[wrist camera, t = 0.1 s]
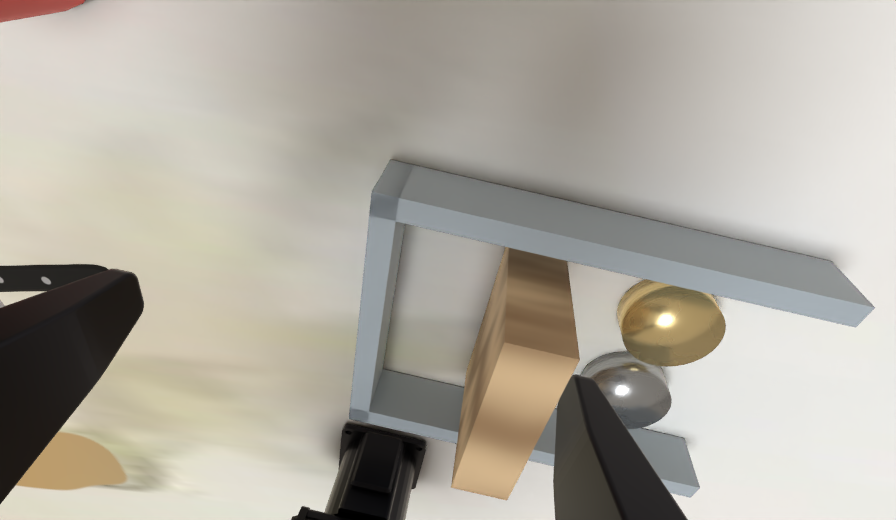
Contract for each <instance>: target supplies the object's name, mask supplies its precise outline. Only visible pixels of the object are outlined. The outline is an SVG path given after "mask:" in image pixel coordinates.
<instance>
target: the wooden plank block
mask: <svg viewBox="0 0 896 520" xmlns="http://www.w3.org/2000/svg"><path fill="white" fill-rule="evenodd" d="M579 360H580V358H579V350H578V342H577V335H576V327H575V319H574V312H573V304H572V296H571V289H570V281H569V273H568V266H567V261H565V260H561V259H556V258H552V257H548V256H543V255H539V254H535V253H530V252H526V251H522V250H517V249H513V248H509V247H506V248H505V251H504V254H503V257H502V260H501V264H500V267H499V270H498V273H497V276H496V280H495V283H494V286H493V289H492V292H491V295H490V299H489V302H488V305H487V308H486V311H485V314H484V318H483V321H482V324H481V327H480V330H479V333H478V337H477V340H476V343H475V346H474V349H473V353H472V356H471V359H470V362H469V365H468V368H467V372H466V378H465V386H464V394H463V401H462V409H461V416H460V424H459V432H458V439H457V447H456V454H455V462H454V470H453V477H452V485H451V488H456V489H460V490H464V491H469V492H473V493H477V494H482V495H486V496H490V497H495V498H499V499H503V500H507V499H508V497H509V496H510V494H511V492H512V490H513V488H514V486H515V484H516V482H517V480H518V478H519V476H520V474H521V472H522V470H523V469H524V467H525V465H526V463H527V461H528V459H529V457H530V455H531V453H532V451H533V449H534V447H535V445H536V443H537V441H538V440H539V438H540V436H541V434H542V432H543V430H544V428H545V426H546V424H547V422H548V420H549V418H550V416H551V414H552V413H553V411H554V409H555V407H556V405H557V403H558V401H559V399H560V397H561V395H562V393H563V391H564V389H565V387H566V385H567V383H568V381H569V379H570V378H571V376H572V374H573V372H574V370H575V368H576V366H577V364H578V362H579Z"/></svg>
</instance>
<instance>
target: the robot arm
mask: <svg viewBox="0 0 896 520" xmlns="http://www.w3.org/2000/svg"><path fill="white" fill-rule="evenodd" d="M143 308H144V301H143V297H142V293H141V289H140V285H139V282H138V278H137V276H136V275H135V274H134V273H132V272H128V271H124V270H119V269H109V270H106V271H103V272H101V273H98V274H95V275H92V276H89V277H86V278H84V279H81V280H78V281H75V282H72V283H69V284H67V285H64V286H61V287H58V288H55V289H52V290H50V291H47V292H44V293H41V294H38V295H35V296H33V297H30V298H27V299H24V300H21V301H18V302H16V303H13V304H10V305H7V306H4V307H2V308H0V504H1V503H2V501H3V500H4V499H5V498H6V496H7V495H8V494H9V493H10V491H11V490H12V489H13V488H14V486H15V485H16V484H17V483H18V481H19V480H20V479H21V478H22V476H23V475H24V474H25V472H26V471H27V470H28V468H29V467H30V466H31V465H32V464H33V462H34V461H35V460H36V459H37V457H38V456H39V455H40V453H41V452H42V451H43V450H44V449H45V447H46V446H47V445H48V443H49V442H50V441H51V440H52V438H53V437H54V436H55V435H56V433H57V432H58V431H59V430H60V428H61V427H62V426H63V425H64V423H65V422H66V421H67V420H68V418H69V417H70V416H71V415H72V413H73V412H74V411H75V410H76V408H77V407H78V406H79V405H80V403H81V402H82V401H83V400H84V398H85V397H86V396H87V395H88V393H89V392H90V391H91V390H92V388H93V387H94V386H95V384H96V383H97V382H98V380H99V379H100V378H101V376H102V375H103V373H104V372H105V370H106V369H107V367H108V366H109V364H110V363H111V361H112V360H113V358H114V356H115V355H116V353H117V352H118V350H119V349H120V347H121V346H122V344H123V342H124V341H125V339H126V338H127V336H128V335H129V333H130V331H131V330H132V328H133V327H134V325H135V324H136V322H137V320H138V319H139V317H140V316H141V314H142V311H143ZM426 446H427V445H426V443H425V442H424V441H421V440H417V439H413V438H408V437H404V436H399V435H395V434H391V433H386V432H382V431H378V430H373V429H369V428H365V427H360V426H356V425H352V424H346V425H344V427H343V430H342V438H341V449H340V460H339V471H338V474H337V477H336V480H335V483H334V486H333V489H332V492H331V495H330V498H329V500H328V503H327V506H326V509H325V512H324V513H323V512H319V511H315V510H310V508H308V507H304V506H302V507H301V509H300V512H299V514H298V515H297V516H293V517H292V519H291V520H405V518H406V513H407V508H408V503H409V498H410V493H411V489H414V488H415V487H416V483H417V480H418V476H419V472H420V469H421V465H422V462H423V458H424V455H425V451H426ZM553 483H554V504H555V520H688V519H687V518H686V516H685V515H684V513H683V512H682V510H681V509H680V507H679V506H678V504H677V503H676V501H675V500H674V498H673V497H672V495H671V494H670V492H669V491H668V489H667V488H666V486H665V485H664V483H663V482H662V480H661V479H660V477H659V476H658V474H657V473H656V471H655V470H654V468H653V467H652V465H651V464H650V462H649V461H648V459H647V458H646V456H645V455H644V453H643V452H642V450H641V449H640V447H639V446H638V444H637V443H636V441H635V440H634V438H633V437H632V435H631V434H630V432H629V431H628V429H627V428H626V426H625V425H624V423H623V422H622V420H621V419H620V417H619V416H618V414H617V413H616V411H615V410H614V408H613V407H612V405H611V404H610V402H609V401H608V399H607V398H606V396H605V395H604V393H603V392H602V390H601V389H600V387H599V386H598V384H597V383H596V382H595V380H593V379H592V378H589V377H585V376H581V375H573V376H571V378H570V379H569V381H568V383H567V385H566V387H565V389H564V391H563V393H562V395H561V397H560V399H559V402H558V406H557V418H556V437H555V457H554V480H553Z"/></svg>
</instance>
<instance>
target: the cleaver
mask: <svg viewBox="0 0 896 520" xmlns="http://www.w3.org/2000/svg"><path fill="white" fill-rule="evenodd" d="M106 270H108V269H107V268H105V267H102V266H98V265H88V264H71V265H25V266H0V292H14V291H50V290H52V289H55V288H58V287H61V286H64V285H67V284H69V283H72V282H75V281H78V280H81V279H84V278H86V277H89V276H92V275H95V274H98V273H101V272H103V271H106ZM2 307H4V304H3V303H2V302H1V301H0V308H2Z"/></svg>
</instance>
